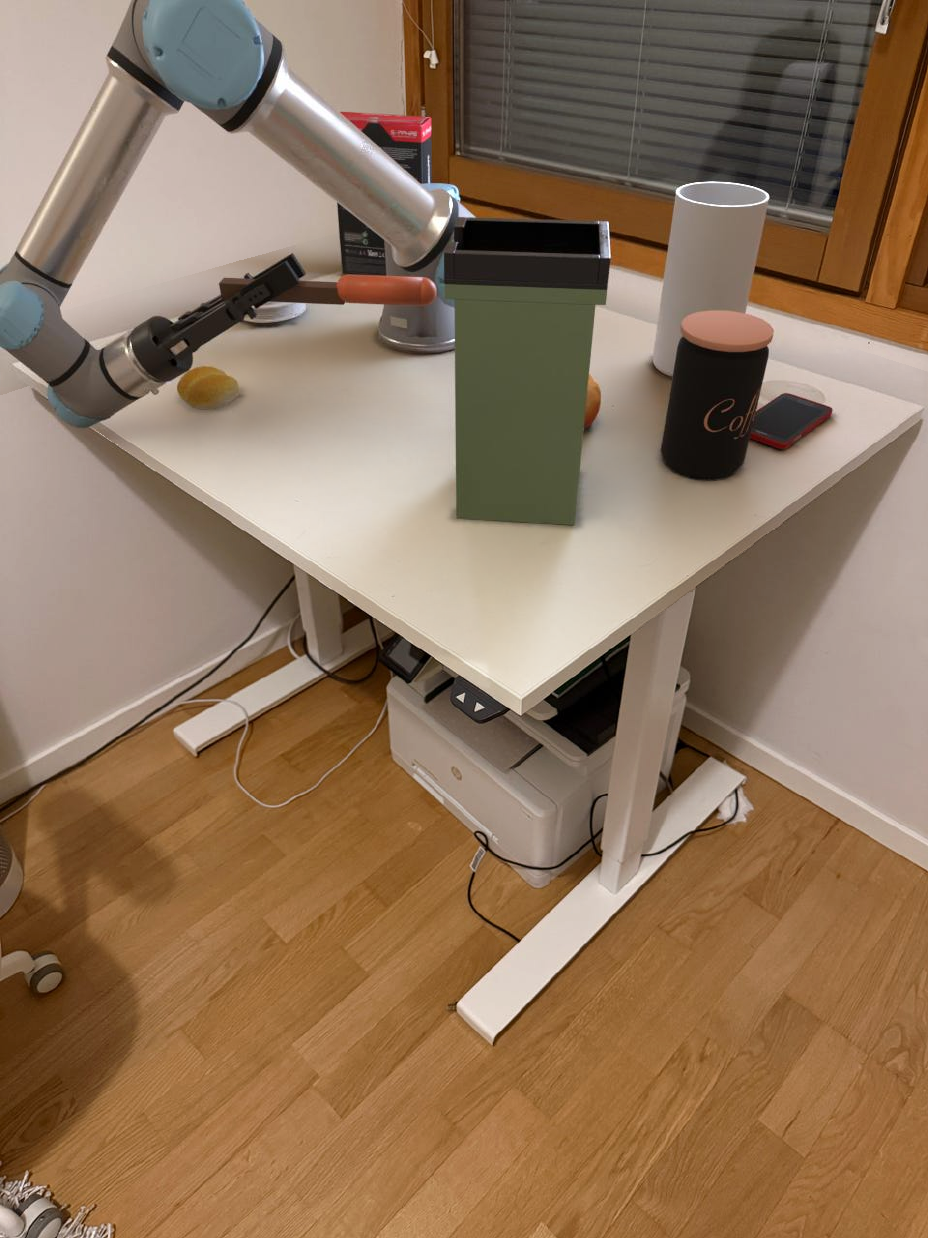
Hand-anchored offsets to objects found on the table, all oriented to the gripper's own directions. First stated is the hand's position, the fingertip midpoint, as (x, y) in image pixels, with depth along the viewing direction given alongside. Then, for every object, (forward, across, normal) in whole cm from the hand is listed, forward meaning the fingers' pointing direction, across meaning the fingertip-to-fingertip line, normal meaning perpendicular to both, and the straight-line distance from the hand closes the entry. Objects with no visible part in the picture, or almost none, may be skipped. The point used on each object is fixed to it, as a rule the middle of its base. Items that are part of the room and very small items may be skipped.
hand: (295, 268), depth 103 cm
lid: (-28, -45, -11) cm, 54 cm away
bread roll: (-28, -12, -11) cm, 32 cm away
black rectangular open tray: (+26, +10, -10) cm, 30 cm away
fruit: (+18, -10, -37) cm, 42 cm away
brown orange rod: (+1, 0, -5) cm, 5 cm away
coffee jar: (+33, -1, -46) cm, 56 cm away
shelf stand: (+12, +10, -34) cm, 37 cm away
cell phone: (+43, -12, -52) cm, 69 cm away
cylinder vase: (+34, -30, -46) cm, 65 cm away
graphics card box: (-13, -67, -19) cm, 71 cm away
